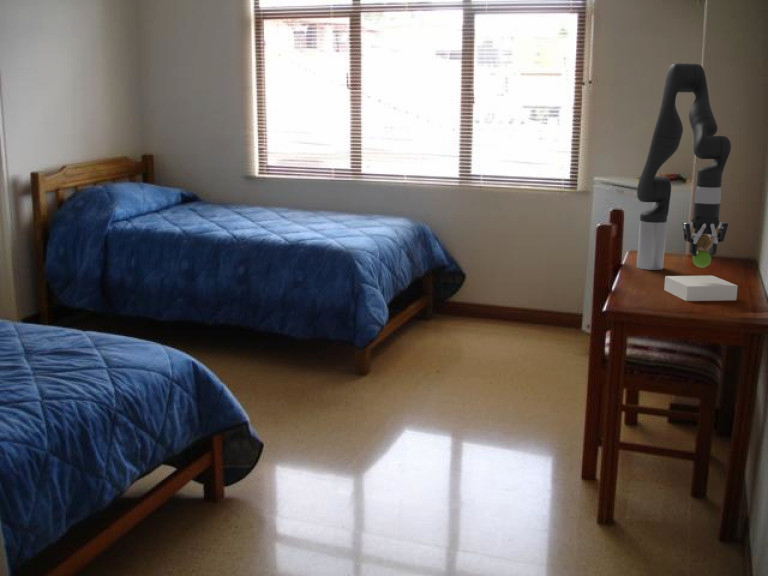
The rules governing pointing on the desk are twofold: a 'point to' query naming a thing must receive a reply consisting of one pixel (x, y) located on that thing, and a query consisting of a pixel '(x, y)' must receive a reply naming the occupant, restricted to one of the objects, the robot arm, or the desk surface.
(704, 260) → the snail figurine
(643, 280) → the desk surface
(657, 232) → the robot arm
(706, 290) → the cream block
